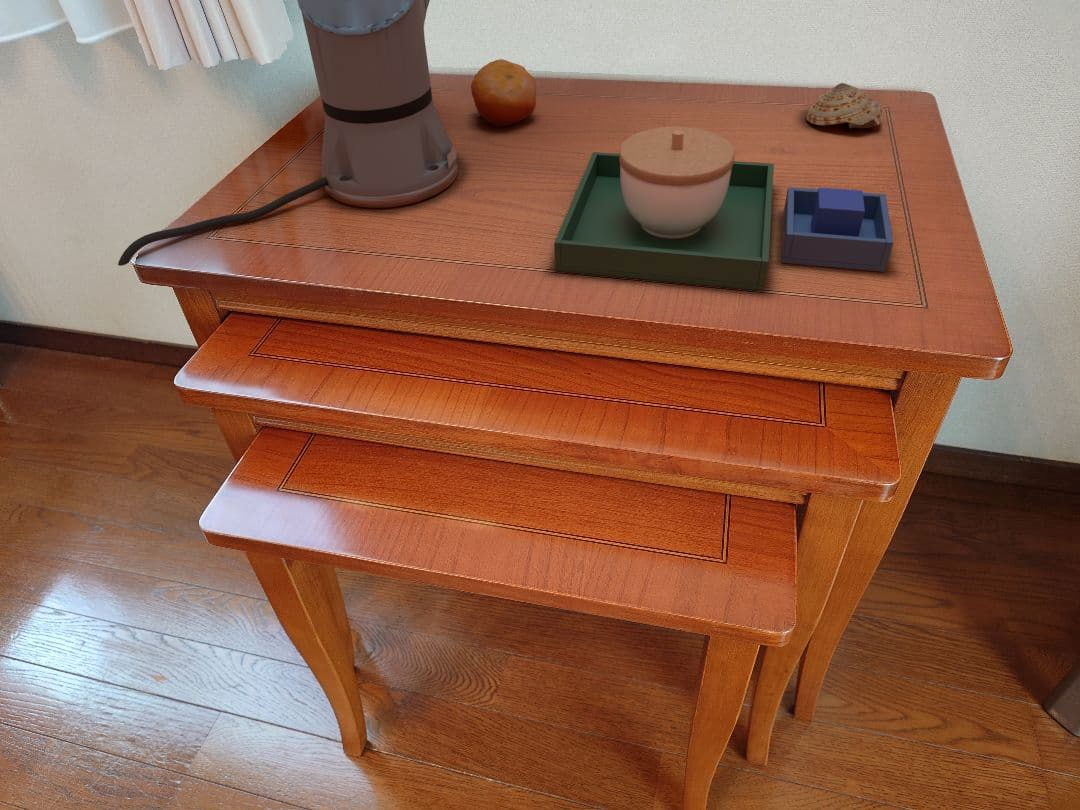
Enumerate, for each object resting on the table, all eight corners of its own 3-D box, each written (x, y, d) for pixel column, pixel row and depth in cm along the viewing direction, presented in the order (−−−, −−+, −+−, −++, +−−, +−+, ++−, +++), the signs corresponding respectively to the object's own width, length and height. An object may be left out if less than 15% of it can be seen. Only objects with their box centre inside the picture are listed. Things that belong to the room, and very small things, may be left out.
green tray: (555, 271, 76) (554, 242, 74) (592, 178, 89) (592, 151, 87) (763, 291, 72) (768, 261, 70) (769, 190, 86) (774, 163, 84)
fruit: (504, 87, 106) (519, 41, 99) (535, 133, 105) (553, 89, 98) (452, 104, 103) (464, 57, 96) (484, 151, 102) (498, 107, 94)
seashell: (876, 124, 91) (819, 84, 93) (847, 162, 96) (794, 124, 97) (900, 100, 96) (846, 62, 97) (872, 137, 101) (820, 101, 102)
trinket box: (723, 255, 75) (735, 161, 69) (610, 247, 77) (612, 154, 71) (727, 200, 83) (738, 111, 77) (624, 194, 85) (627, 107, 79)
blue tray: (781, 263, 75) (786, 233, 73) (783, 214, 82) (788, 186, 80) (885, 272, 73) (893, 242, 71) (878, 222, 80) (885, 193, 78)
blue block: (811, 245, 76) (819, 207, 73) (810, 224, 79) (818, 187, 76) (855, 249, 75) (865, 210, 73) (853, 227, 78) (862, 190, 75)
